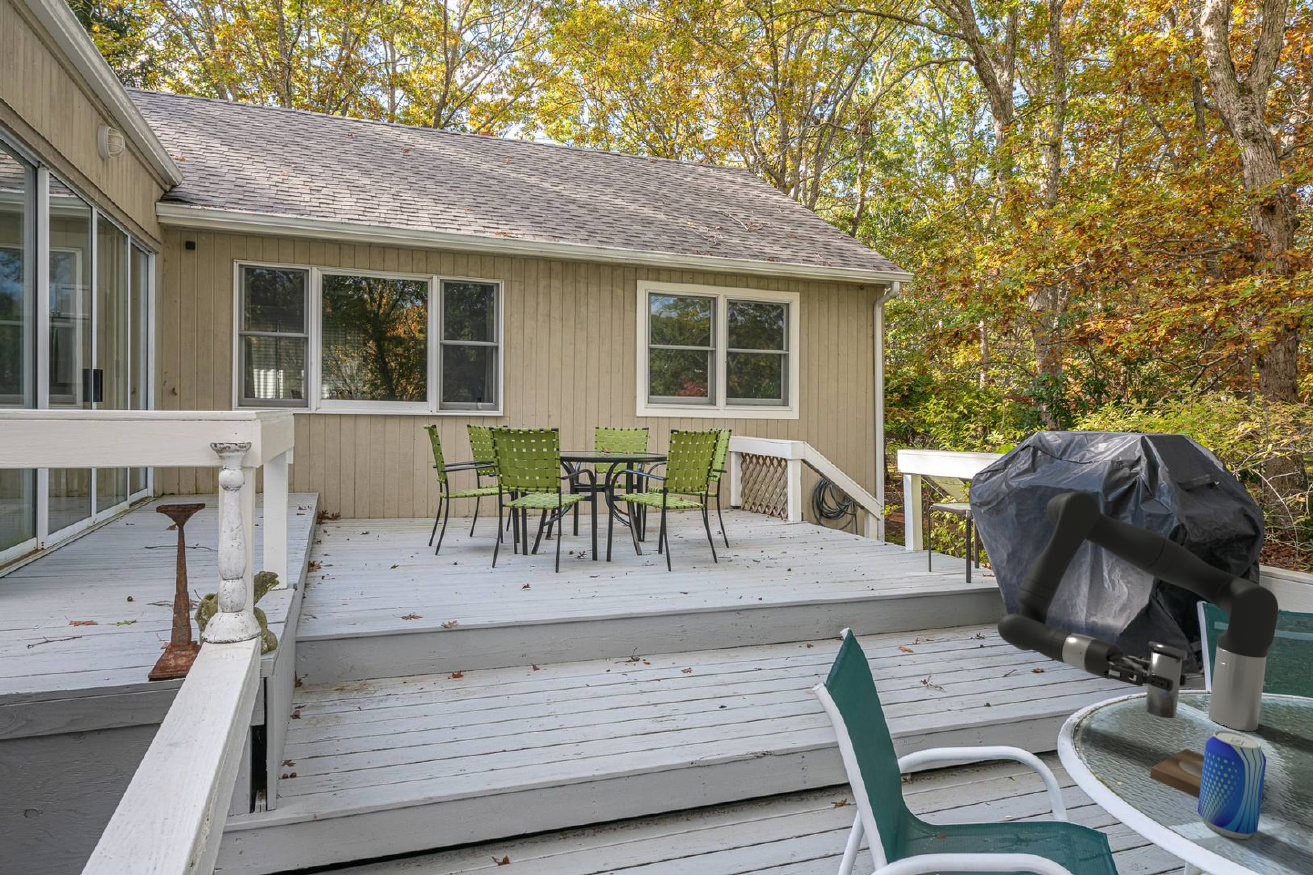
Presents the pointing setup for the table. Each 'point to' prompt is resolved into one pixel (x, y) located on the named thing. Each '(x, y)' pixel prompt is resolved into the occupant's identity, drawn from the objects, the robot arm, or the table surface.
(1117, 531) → the robot arm
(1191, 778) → the block
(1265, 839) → the table surface
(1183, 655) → the grey cylinder
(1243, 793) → the beer can
